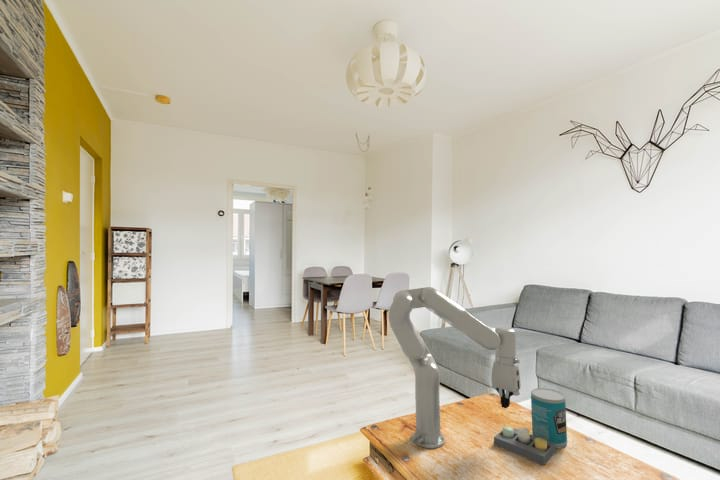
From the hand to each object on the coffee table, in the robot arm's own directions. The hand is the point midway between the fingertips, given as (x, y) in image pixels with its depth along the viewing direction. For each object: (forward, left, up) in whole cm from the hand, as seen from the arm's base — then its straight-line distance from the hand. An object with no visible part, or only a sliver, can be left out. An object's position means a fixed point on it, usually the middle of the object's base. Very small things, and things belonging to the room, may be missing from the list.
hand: (505, 406), depth 135 cm
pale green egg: (+1, -1, -13) cm, 13 cm away
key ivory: (+1, -7, -11) cm, 13 cm away
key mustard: (+1, -13, -13) cm, 18 cm away
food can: (+13, -11, -14) cm, 22 cm away
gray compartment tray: (+1, -7, -14) cm, 15 cm away
